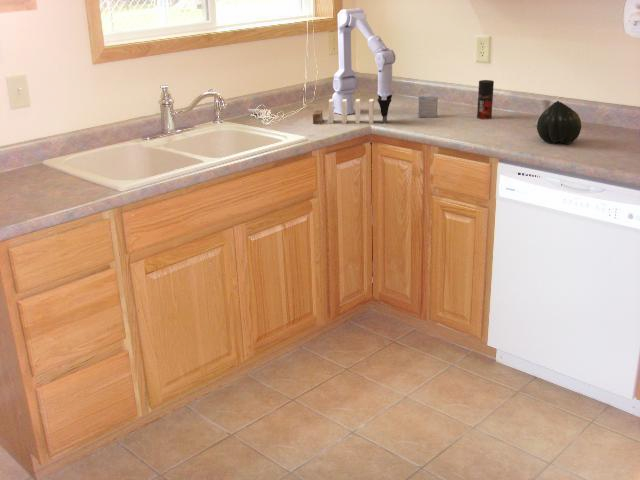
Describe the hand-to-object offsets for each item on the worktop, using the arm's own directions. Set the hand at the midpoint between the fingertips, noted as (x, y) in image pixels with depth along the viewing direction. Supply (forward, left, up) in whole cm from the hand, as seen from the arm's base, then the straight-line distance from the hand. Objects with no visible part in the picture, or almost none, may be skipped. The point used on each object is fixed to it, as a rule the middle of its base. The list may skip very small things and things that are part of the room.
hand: (384, 114), depth 304 cm
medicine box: (+5, +20, -3) cm, 21 cm away
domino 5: (0, 0, -3) cm, 3 cm away
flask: (+49, +40, -3) cm, 63 cm away
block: (-20, -20, -3) cm, 28 cm away
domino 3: (-8, -8, -3) cm, 11 cm away
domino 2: (-12, -12, -3) cm, 17 cm away
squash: (+67, +23, -3) cm, 71 cm away
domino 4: (-4, -4, -3) cm, 6 cm away
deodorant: (+23, +35, -3) cm, 42 cm away
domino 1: (-16, -16, -3) cm, 22 cm away
